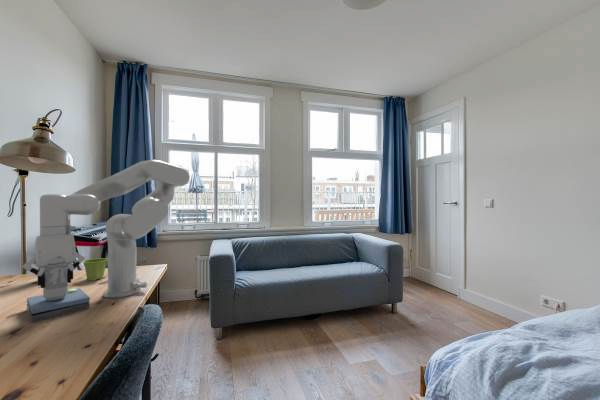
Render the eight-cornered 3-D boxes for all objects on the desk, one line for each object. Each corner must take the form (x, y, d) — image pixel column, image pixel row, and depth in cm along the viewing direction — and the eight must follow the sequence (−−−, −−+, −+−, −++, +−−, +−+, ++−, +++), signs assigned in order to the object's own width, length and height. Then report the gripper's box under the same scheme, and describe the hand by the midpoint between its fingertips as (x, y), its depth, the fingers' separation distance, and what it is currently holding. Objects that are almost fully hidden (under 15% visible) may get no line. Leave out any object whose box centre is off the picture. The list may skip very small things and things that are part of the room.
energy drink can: (68, 293, 93) (68, 250, 93) (66, 298, 88) (66, 253, 88) (45, 296, 89) (44, 252, 89) (41, 302, 84) (41, 256, 84)
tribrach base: (79, 297, 100) (79, 292, 100) (89, 307, 91) (89, 302, 91) (26, 309, 89) (26, 304, 89) (32, 322, 80) (32, 316, 80)
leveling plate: (79, 292, 100) (79, 286, 100) (89, 301, 91) (89, 295, 91) (26, 302, 89) (27, 295, 89) (32, 314, 80) (32, 307, 80)
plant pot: (88, 276, 127) (88, 258, 127) (110, 275, 130) (111, 257, 130) (78, 282, 118) (78, 263, 118) (103, 280, 121) (103, 261, 121)
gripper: (85, 227, 97) (85, 276, 98) (16, 232, 84) (17, 288, 84) (90, 229, 93) (90, 280, 93) (19, 235, 79) (19, 294, 79)
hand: (56, 284), depth 88 cm, fingers closed on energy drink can, 5 cm apart
